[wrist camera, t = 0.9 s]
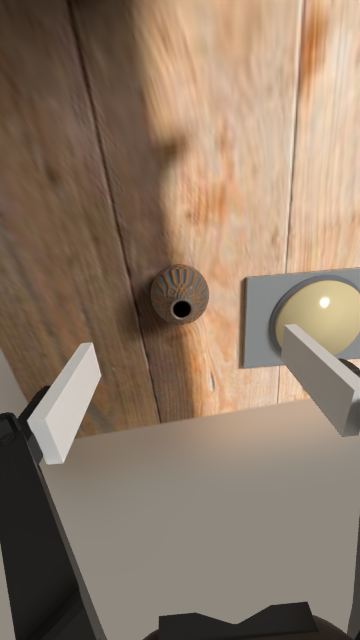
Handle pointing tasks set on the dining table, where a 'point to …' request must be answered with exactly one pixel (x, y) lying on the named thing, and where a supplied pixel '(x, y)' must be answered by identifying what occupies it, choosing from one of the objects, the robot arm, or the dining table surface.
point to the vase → (179, 294)
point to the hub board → (302, 313)
